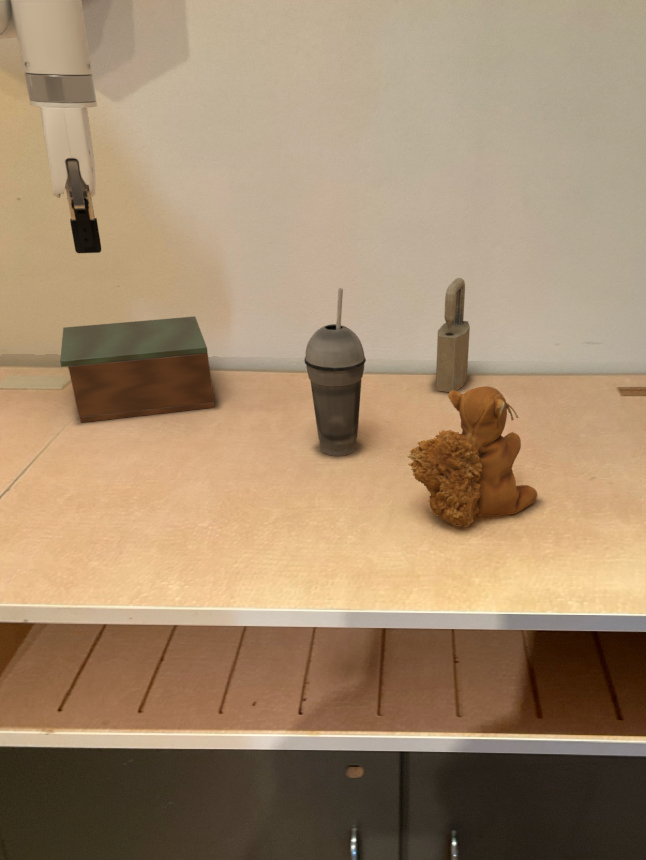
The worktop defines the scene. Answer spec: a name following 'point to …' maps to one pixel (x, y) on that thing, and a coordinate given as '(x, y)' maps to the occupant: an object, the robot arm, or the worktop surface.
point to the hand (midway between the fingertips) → (88, 251)
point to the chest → (142, 387)
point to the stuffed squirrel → (473, 462)
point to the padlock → (453, 341)
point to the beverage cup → (336, 384)
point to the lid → (131, 341)
